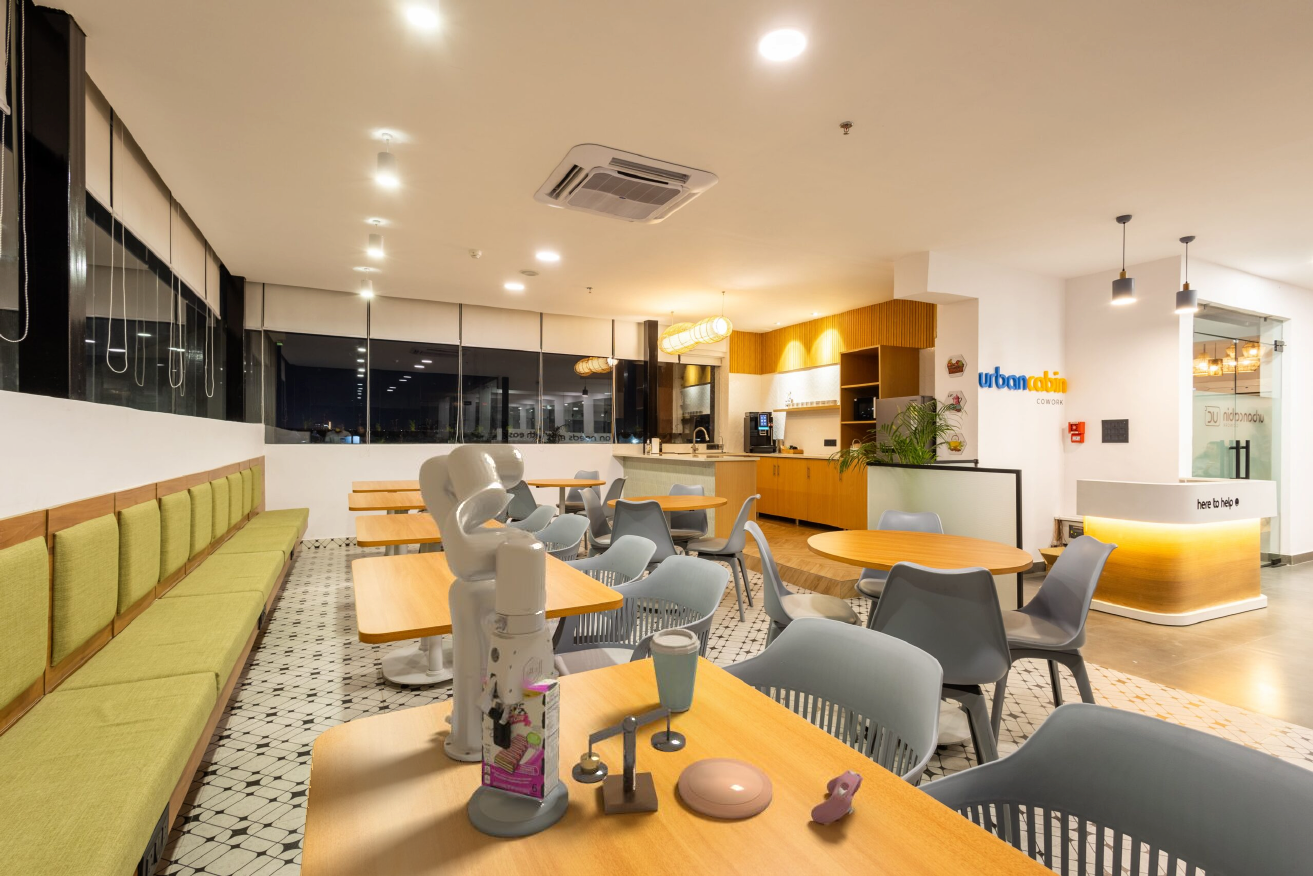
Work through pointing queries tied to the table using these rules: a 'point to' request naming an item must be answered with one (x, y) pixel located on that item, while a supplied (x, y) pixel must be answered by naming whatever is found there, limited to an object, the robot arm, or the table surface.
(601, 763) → the balance
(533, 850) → the table surface
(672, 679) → the disposable coffee cup
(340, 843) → the table surface
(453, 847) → the table surface
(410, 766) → the table surface
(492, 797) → the dish
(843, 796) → the pink curved piece
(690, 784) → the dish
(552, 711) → the candy bar box
